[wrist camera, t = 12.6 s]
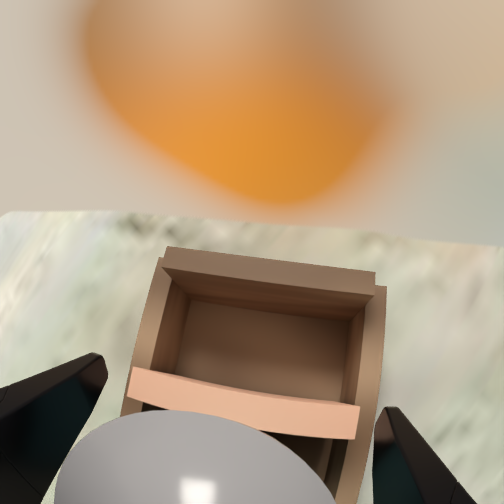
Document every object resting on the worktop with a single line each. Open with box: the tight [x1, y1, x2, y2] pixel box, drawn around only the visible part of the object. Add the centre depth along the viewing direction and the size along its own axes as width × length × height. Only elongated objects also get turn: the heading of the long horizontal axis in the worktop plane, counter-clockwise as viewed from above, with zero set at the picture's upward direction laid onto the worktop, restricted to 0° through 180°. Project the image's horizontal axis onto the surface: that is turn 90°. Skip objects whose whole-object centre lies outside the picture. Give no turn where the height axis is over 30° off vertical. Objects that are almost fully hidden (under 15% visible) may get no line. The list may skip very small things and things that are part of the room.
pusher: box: [127, 366, 360, 439], centre depth 12 cm, size 1×8×6 cm, turn 79°
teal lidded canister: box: [54, 410, 336, 504], centre depth 8 cm, size 7×7×10 cm
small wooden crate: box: [120, 246, 387, 504], centre depth 13 cm, size 14×11×6 cm
